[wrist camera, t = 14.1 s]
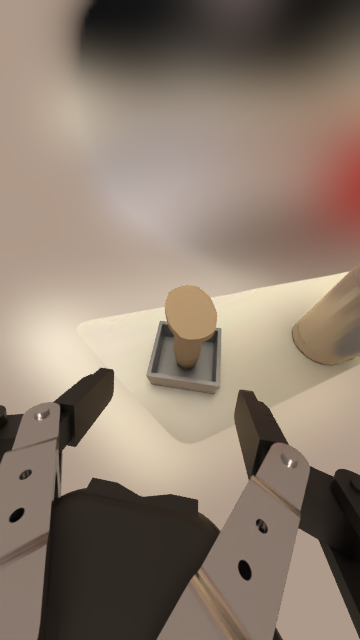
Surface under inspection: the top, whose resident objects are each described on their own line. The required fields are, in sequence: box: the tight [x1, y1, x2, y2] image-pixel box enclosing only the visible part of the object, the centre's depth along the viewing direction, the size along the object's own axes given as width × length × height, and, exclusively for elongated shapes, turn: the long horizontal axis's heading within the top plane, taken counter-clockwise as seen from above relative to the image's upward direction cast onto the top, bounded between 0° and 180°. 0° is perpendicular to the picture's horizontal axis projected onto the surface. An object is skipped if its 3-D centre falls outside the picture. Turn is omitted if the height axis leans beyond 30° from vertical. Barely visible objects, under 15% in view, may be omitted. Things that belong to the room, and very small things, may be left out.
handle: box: [165, 286, 217, 371], centre depth 24 cm, size 5×6×15 cm
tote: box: [146, 321, 221, 394], centre depth 29 cm, size 10×9×5 cm
